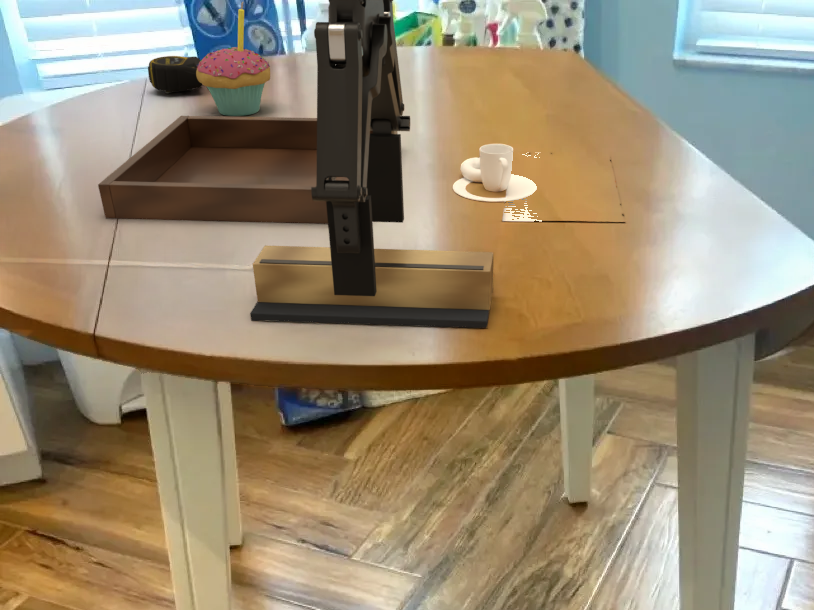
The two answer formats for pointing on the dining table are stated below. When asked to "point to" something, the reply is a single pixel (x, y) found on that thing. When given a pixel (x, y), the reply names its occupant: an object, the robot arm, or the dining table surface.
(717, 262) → the dining table surface
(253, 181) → the box
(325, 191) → the robot arm
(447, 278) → the grooved wooden beam
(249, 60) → the cupcake
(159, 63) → the tape measure
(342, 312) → the mat
